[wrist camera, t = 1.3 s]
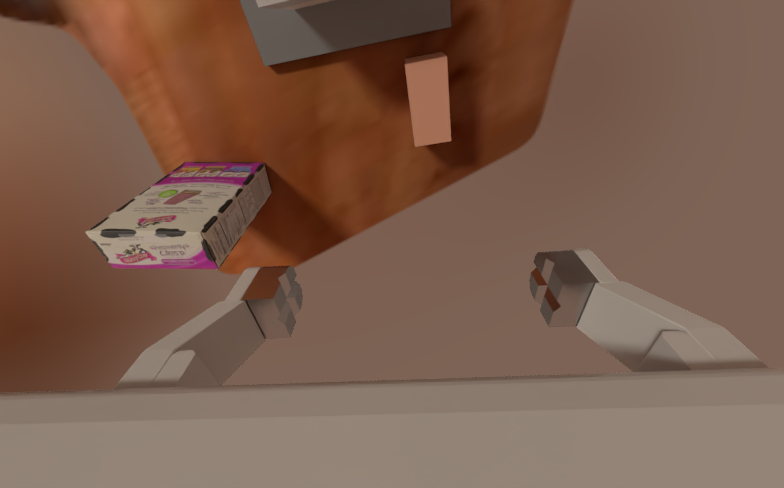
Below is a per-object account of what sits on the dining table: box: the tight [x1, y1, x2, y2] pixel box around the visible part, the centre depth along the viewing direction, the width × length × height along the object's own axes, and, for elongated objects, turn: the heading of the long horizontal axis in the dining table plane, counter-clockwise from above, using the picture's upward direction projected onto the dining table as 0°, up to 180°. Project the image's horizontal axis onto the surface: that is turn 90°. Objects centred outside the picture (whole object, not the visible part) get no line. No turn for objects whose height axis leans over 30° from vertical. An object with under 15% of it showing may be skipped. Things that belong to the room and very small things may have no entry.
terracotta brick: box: [405, 51, 451, 147], centre depth 32 cm, size 4×8×5 cm, turn 10°
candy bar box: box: [86, 162, 272, 269], centre depth 35 cm, size 11×5×16 cm, turn 90°
